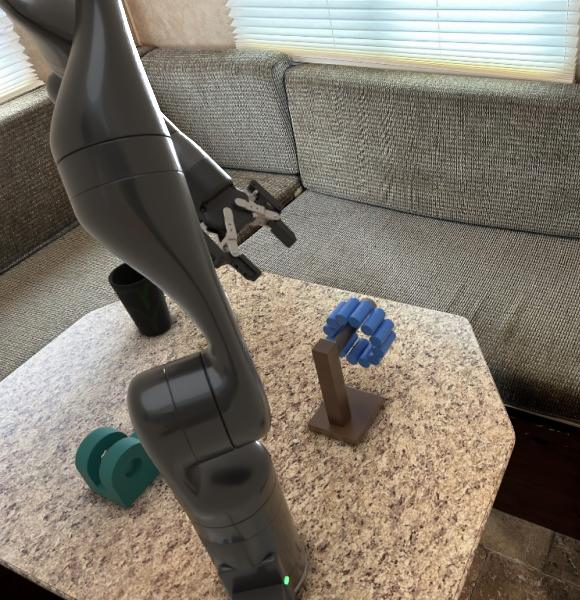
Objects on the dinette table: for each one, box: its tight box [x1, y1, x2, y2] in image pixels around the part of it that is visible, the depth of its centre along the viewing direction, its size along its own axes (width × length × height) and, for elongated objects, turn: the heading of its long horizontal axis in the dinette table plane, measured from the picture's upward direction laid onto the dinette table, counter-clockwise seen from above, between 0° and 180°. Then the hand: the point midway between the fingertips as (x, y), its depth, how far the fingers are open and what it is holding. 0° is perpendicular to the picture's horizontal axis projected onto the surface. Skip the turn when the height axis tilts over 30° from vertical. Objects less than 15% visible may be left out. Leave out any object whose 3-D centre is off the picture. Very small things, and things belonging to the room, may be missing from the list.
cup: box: [107, 262, 173, 338], centre depth 104 cm, size 8×8×12 cm
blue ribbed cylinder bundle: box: [322, 296, 397, 369], centre depth 86 cm, size 4×9×9 cm, turn 64°
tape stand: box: [307, 297, 386, 447], centre depth 85 cm, size 14×8×16 cm, turn 154°
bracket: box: [74, 426, 161, 509], centre depth 84 cm, size 18×7×8 cm, turn 153°
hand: (276, 260), depth 84 cm, fingers open, 8 cm apart
